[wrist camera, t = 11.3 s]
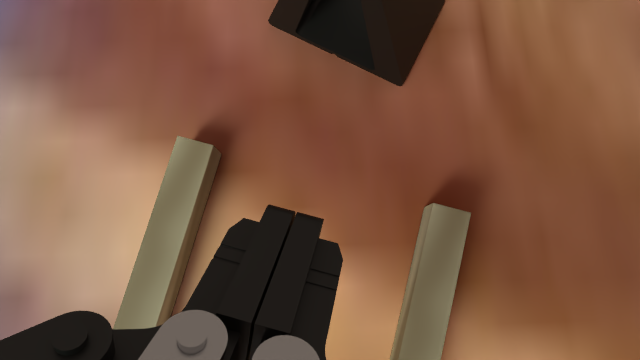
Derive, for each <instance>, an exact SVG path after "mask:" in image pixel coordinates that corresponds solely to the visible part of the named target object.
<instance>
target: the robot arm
mask: <svg viewBox="0 0 640 360" xmlns="http://www.w3.org/2000/svg"><path fill="white" fill-rule="evenodd" d="M323 220H324V219H321V218H318V217H314V216H310V215H307V214H303V213H299V212H297V214H296V216H295V211H291V210H288V209H284V208H280V207H276V206H273V205H268V206H267V208H266V210H265V212H264V214H263V216H262V218H261V220H260V222H256V221H253V220H249V219H245V218H243V219H242V220H241V221H239V222H238V223H236V224H235V225H234V226H232V227H231V228H230V229H229V230H228V232H227V233H226V235H225V237H224V239H223V241H222V242H221V245H220V247H219V248H218V250H217V251H216V253H215V255H214V258H213V259H212V260H211V262H210V264H209V266H208V268H207V269H206V271H205V273H204V275H203V276H202V278H201V280H200V282H199V284H198V285H197V287H196V289H195V291H194V293H193V294H192V296H191V298H190V300H189V302H188V303H187V305H186V307H185V308H184V309H183V311H182V312H180V313H178V314H176V315H174V316H172V317H171V318H169V319H168V320H167V321H166V322H164V324H162V325H159V326H156V327H152V328H145V329H112V328H111V326H110V323H109V322H108V321H107V320H106V319H105V318H104V317H103V316H101V315H100V314H97V313H94V312H90V311H74V312H69V313H65V314H63V315H60V316H57V317H55V318H53V319H50V320H48V321H45V322H43V323H41V324H38V325H36V326H34V327H31V328H29V329H26V330H24V331H22V332H19V333H17V334H15V335H12V336H10V337H7V338H5V339H3V340H0V360H326V357H325V344H326V339H327V334H328V329H329V325H330V320H331V315H332V310H333V305H334V301H335V296H336V291H337V286H338V281H339V276H340V272H341V267H342V262H343V258H342V255H341V252H340V248H339V245H338V243H334V242H331V241H327V240H323V239H319V236H320V232H321V228H322V224H323Z"/></svg>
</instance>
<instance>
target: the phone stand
mask: <svg viewBox="0 0 640 360" xmlns="http://www.w3.org/2000/svg"><path fill="white" fill-rule="evenodd" d="M444 2H445V0H278V2H277V4H276V6H275V8H274V10H273V12H272V14H271V16H270V18H269V20H268V21H269V23H270V24H271V25H272V26H274V27H276V28H278V29H280V30H282V31H284V32H287V33H289V34H291V35H293V36H295V37H297V38H299V39H301V40H303V41H305V42H308V43H310V44H312V45H314V46H316V47H318V48H320V49H322V50H324V51H326V52H329V53H331V54H332V53H333V54H335V55H337V57H339V58H341V59H343V60H345V61H347V62H349V63H352V64H354V65H356V66H358V67H360V68H362V69H364V70H366V71H368V72H370V73H373V74H375V75H377V76H379V77H381V78H383V79H385V80H387V81H389V82H391V83H393V84H396V85H398V86H402V85H403V83H404V81H405V79H406V77H407V75H408V73H409V72H410V70H411V68H412V66H413V64H414V62H415V60H416V58H417V56H418V54H419V52H420V50H421V48H422V46H423V44H424V42H425V40H426V38H427V36H428V34H429V32H430V30H431V28H432V26H433V24H434V22H435V20H436V18H437V16H438V14H439V12H440V10H441V8H442V6H443V4H444Z"/></svg>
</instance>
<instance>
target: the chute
mask: <svg viewBox="0 0 640 360" xmlns="http://www.w3.org/2000/svg"><path fill="white" fill-rule="evenodd" d="M221 155H222V154H221V153H220V152H219V151H218V150H217V149H216V148H215V146H214V145H210V144H207V143H203V142H199V141H195V140H191V139H188V138H184V137H180V136H177V139H176V142H175V145H174V148H173V151H172V154H171V157H170V160H169V163H168V166H167V169H166V172H165V175H164V178H163V181H162V184H161V187H160V190H159V193H158V196H157V199H156V202H155V205H154V208H153V211H152V214H151V217H150V220H149V223H148V226H147V229H146V232H145V235H144V238H143V241H142V244H141V247H140V250H139V253H138V256H137V259H136V262H135V265H134V268H133V271H132V274H131V277H130V280H129V283H128V286H127V289H126V292H125V295H124V298H123V301H122V304H121V307H120V310H119V313H118V316H117V319H116V322H115V325H114V328H113V329H145V328H152V327H156V326H159V325H162V324H164V322H166V321H167V320H168V319H169V318H170V317H171V314H172V311H173V308H174V304H175V301H176V298H177V295H178V292H179V288H180V285H181V282H182V279H183V276H184V272H185V269H186V266H187V263H188V260H189V257H190V253H191V250H192V247H193V244H194V241H195V237H196V234H197V231H198V228H199V225H200V222H201V218H202V215H203V212H204V209H205V206H206V202H207V199H208V196H209V193H210V190H211V186H212V183H213V180H214V177H215V174H216V171H217V167H218V164H219V161H220V158H221ZM470 216H471V213H470V212H466V211H462V210H458V209H455V208H451V207H447V206H443V205H439V204H436V203H432V204H430V205H428V206H426V207H424V211H423V215H422V220H421V224H420V229H419V233H418V238H417V242H416V246H415V251H414V255H413V260H412V264H411V268H410V273H409V277H408V282H407V286H406V290H405V295H404V299H403V304H402V308H401V312H400V317H399V321H398V326H397V330H396V334H395V339H394V343H393V348H392V352H391V357H390V360H441V355H442V350H443V346H444V341H445V336H446V331H447V326H448V322H449V317H450V312H451V307H452V302H453V298H454V293H455V288H456V283H457V278H458V273H459V269H460V264H461V259H462V254H463V249H464V245H465V240H466V235H467V230H468V225H469V221H470Z"/></svg>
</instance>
